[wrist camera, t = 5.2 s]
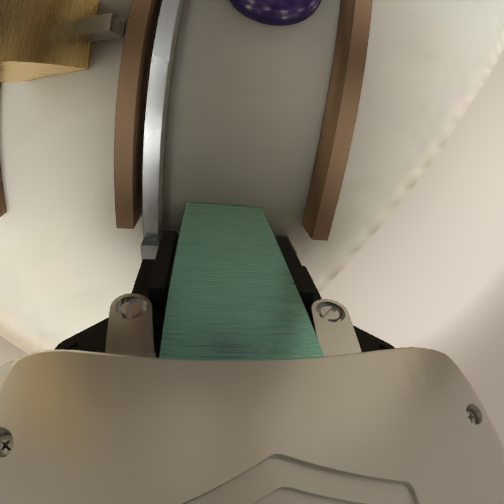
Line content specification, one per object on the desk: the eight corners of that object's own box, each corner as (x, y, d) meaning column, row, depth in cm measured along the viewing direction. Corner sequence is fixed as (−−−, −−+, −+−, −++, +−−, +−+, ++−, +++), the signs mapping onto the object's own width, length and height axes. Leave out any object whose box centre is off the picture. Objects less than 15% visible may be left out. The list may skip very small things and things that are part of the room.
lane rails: (34, -64, 3) (22, -72, 1) (361, -69, 6) (374, -79, 4) (-3, 212, 11) (-18, 224, 10) (316, 226, 15) (327, 240, 13)
